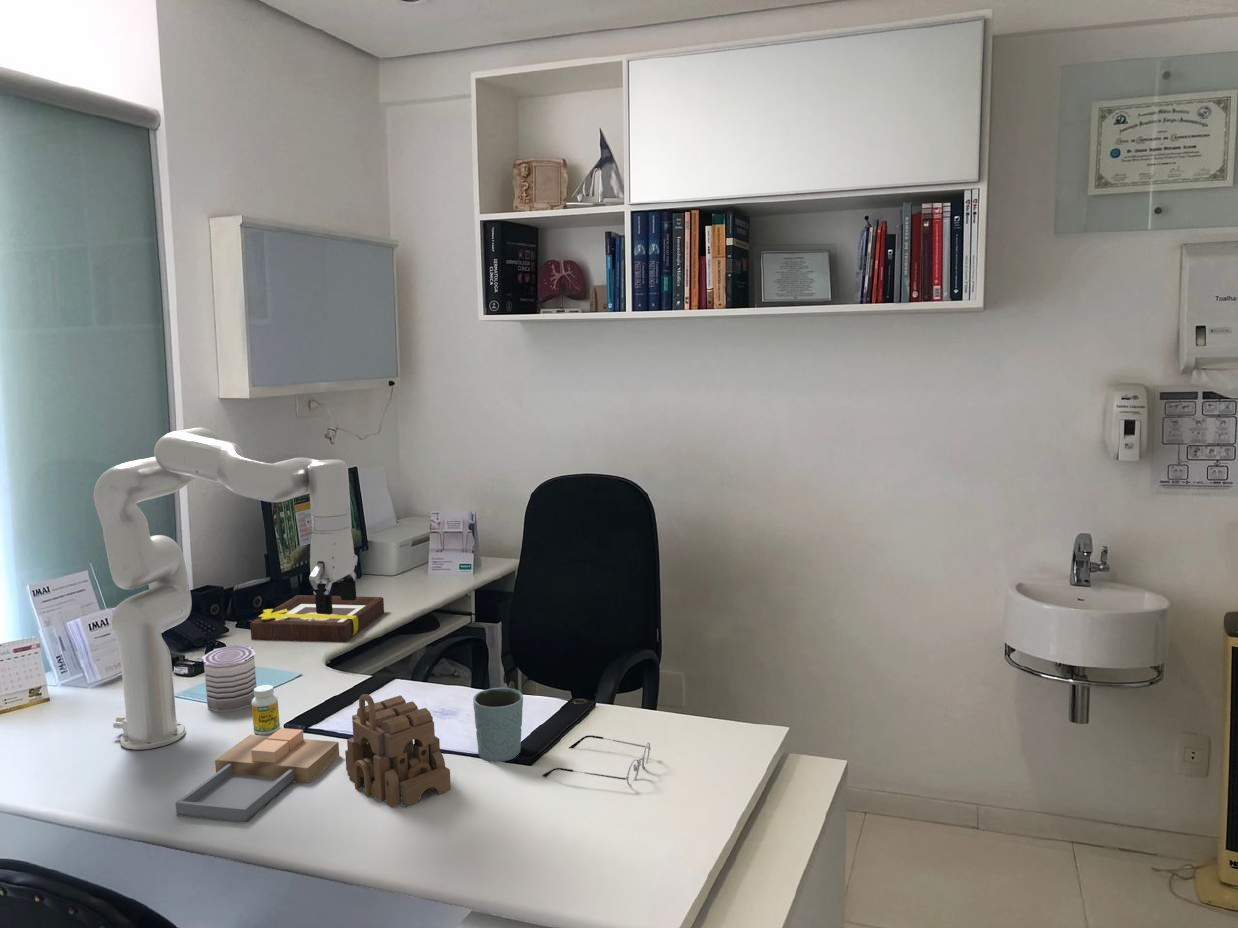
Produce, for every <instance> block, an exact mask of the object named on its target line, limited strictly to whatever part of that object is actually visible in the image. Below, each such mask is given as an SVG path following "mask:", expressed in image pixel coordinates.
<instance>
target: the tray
mask: <svg viewBox="0 0 1238 928" xmlns="http://www.w3.org/2000/svg"><path fill="white" fill-rule="evenodd" d="M294 783H296V782H295V780H294V769H289V770H288V771H287V772H286V773H284V774H283V775H282V776H281V777H280V778H277V777H266V776H255V775H244V774H233V766H232V764H227V765H226V766H225V767H223V768H222V769H221V770H219V771H218V772H216V771H215V773H213V774H212V775H211V776H210V777H208V778H207V779H205V780H204V781H202V783H200V784H199V785H197V786H196V787H195V788H193V789H192V790H190V791H189V792H188V793H186V794H185V795H184V796H182V797H181V798H180V799H178V800H177V801H175V803H174V804H175V815H176V817H185V818H195V819H206V820H214V821H222V822H223V821H226V822H235V823H244V824H246V823H248V822H249V821H251V819H253V818H254V817H255V816H256V815H257V814H259V812H261V811H262V810H264V809H265V808H266V807H267V806H268V805H269V804H270V803H272V802H273V800H275V799H276V798H277V797H278V796H279V795H281V794H282V793H283V792H284V791H286V789H287V788H289V787H290V786H291V785H292V784H294Z"/></svg>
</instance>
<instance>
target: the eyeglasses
mask: <svg viewBox="0 0 1238 928" xmlns="http://www.w3.org/2000/svg"><path fill="white" fill-rule="evenodd" d="M587 738H593V739H600V740H608V741H613V742H615V743H616V742H617V743H619V744H626V745H630V746H635V747H641V748H643V749H644V750H643V751H644V752H643V754H642V755H641V757H640V758H639V759H633V760H632V762H631V763H630V766H629V767H628V771H627V775H626V776H624V777H623V776H616V775H609V774H600V773H596V772H595V773H594V772H586V771H584V772H583V771H579V770H578V771H577V770H574V769H570V768H563V767H554V768H552V769H550V770H549V771H547V772H545V773H543V774H542V777H545V778H547V777H548V776H550V775H551V774H552V773H553V772H555V771H565V772H571V773H580V774H585V775H591V776H597V777H604V778H611V779H616V780H622V781H623V780H624V781H626V783H627V785H628V786H631V785H632V784H630V782H629V778H630V776H629V775H630V772H631V768H632V767H633V768H632V769H633V772H636V773H635V775H634V778H633V780H632V782H635V781H636V780H637V778H638V775H639V770H640V767H642V769H644V770H645V768H646V767H645V764H646V765H647V764H648V761H649V758H650V753H651V752H650V751H651V750H652V749H651V743H650V742H647V743H646V744H645V745H644V744H639V743H633V742H628V741H622V740H617V739H609V738H606V737H604V736H599V735H585V736H583V737H581V738H580V739H578V740H577V741H576V742H574V743H573V744H571V745H570V746H569V747H568V749H575V747H577V746H578V745H579V744H580V743H581V742H582V741H584V740H585V739H587ZM647 750H648V752H647V756H646V751H647ZM645 756H646V758H645ZM645 759H646V761H645ZM635 762H636V763H637V764H634V763H635Z"/></svg>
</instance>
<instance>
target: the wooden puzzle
mask: <svg viewBox="0 0 1238 928" xmlns="http://www.w3.org/2000/svg"><path fill="white" fill-rule="evenodd" d="M366 703H367V705H366ZM351 720H352V735H353V737H350V738H348V739H347V740H346V742H347V745H346V746H347V749H346V750H344V753H345V754H344V755H345V769H346V771H347V776H348V778H349V781H350V782H352V783H353V784H354V789H355V790H357V791H359V790H361V789H362V787H364V795H365V797H367V798H368V797H371V796H372V797H374V798H375V799H376V800H378V801H380V802H381V803H382V802H384V801H385V804H386V805H387V806H389V807H391V808H394V807H396V806H399V805H400V804H401V805H402V806H404V807H405V808H409V807H411V806H415V805H417V804H419V803H420V800H421V797H422V795H423V793H424V792H425V791H426V792H428V793H430V792H432V791H433V792H434V793H436V794H437V795H442V794H444V793H448V792H449V791H451V790H452V787H451V786H452V785H451V769H450V768H448V767H447V766H446V763H445V759H444V756H443V754H442V752H441V747H440V744H441V743H440V742H441V741H440V738H439V737H437V736H436V735H435V722H434V721H433V720H434V717H433V716H432V713H431V711H429V709H428V708H427V707H424V708H418V706H417V704H416V703H415V702H414V701H408V702H406V699H405V698H404V696H402V695H398V696H393V697H390V698H386V699H384V700H381V701H378V702H375V701H374V699H373V697H372V696H371V695H369V694H368V693H366V694H365V693H364V694H361V695H360V696H359V699H358V708H357V711H356V714H353V715H351Z"/></svg>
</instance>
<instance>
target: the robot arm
mask: <svg viewBox="0 0 1238 928" xmlns="http://www.w3.org/2000/svg"><path fill="white" fill-rule="evenodd" d="M196 479H199V480H200V479H201V480H205V481H209V482H212V483H218V484H221V485H223V486H224V487H225V488H226V489H228V490H229V491H231V493H234V494H236V495H238V496H241V497H245V498H250V499H253V500H257V501H263V502H267V503H282V502H286V501H288V500H292V499H294V498H298V497H302V496H305V495H308V494H309V502H310V517H311V518H310V519H311V531H312V533H311V536H310V545H309V546H310V547H309V549H310V550H309V569H310V575H309V577H308V579H309V582H310V585H311V589H312V590H313V596H315V599H316V613H317V614H332V613H333V610H332V596H333V595H332V593H330V592H331V588H332V585H333V583H335V582H339V589H340V592H339V593H340V596H341V599H342V600H356V596H357V587H356V585H357V584H356V580H357V574H356V573H357V570H358V567H357V564H358V555H356V554H355V548H354V540H353V535H352V527H353V526H352V515H351V514H352V512H351V496H350V481H349V467H348V465H347V463H346V462H345V461H344V460H341V459H332V458H331V459H320V460H319V459H316V458H315V459H314V458H310V457H293V458H291V459H286V460H282V461H278V462H274V463H268V462H262V461H257V460H253V459H250V458H246V457H244V453H243V450H242V448H241V446H240V445H239V444H237V443H235V442H232V441H227V440H222V439H221V438H220V437H219V436H218V434H217V433H215V432H214V431H212V430H210V429H209V428H205V427H192V428H187V429H180V430H175V431H171V432H168V433H166V434H164V435H162V436H161V437H160V438H159V439H158V440H157V442H156V443H155V445H154V449H153V456H151V457H147V458H142V459H141V458H140V459H136V460H135V459H134V460H130V461H126V462H123V463H120V464H117V465H115V466H112V467H110V468H108V469H107V470H105V471H104V472H103V473H102V474H101V475H100V476H99V478H98V479H97V481H96V482H95V486H94V489H93V501H94V505H95V509H96V513H97V515H98V518H99V521H100V523H101V524H100V525H101V528H102V532H103V533H102V534H103V540H104V544H105V545H104V547H105V552H106V554H107V563H108V566H109V571H110V575H111V578H112V581H113V583H114V584H115V585H116V587H118V588H120V589H123V590H135V589H139V588H142V587H145V586H147V585H148V589H147V590H143V591H141V592H138V593H136V594H134V595H130V596H129V597H127V598H124V600H123V601H120V602H119V603H118V604H117V606H115V608H114V610H113V611H112V612H113V613H112V615H111V626H112V630H113V634H114V636H115V640H116V642H117V647H118V653H119V657H120V658H119V659H120V667H121V677H122V686H123V695H124V696H123V698H124V706H125V707H124V708H125V715H122V714H121V715H120V714H119V715H117V716H116V718H115V721H114V722H113V725H112V727H113V729H120V730H121V729H122V731H123V733H122V734H121V736H119V737H120V738H119V742H120V746H122V747H123V748H125V749H129V750H138V751H139V750H149V749H150V750H151V749H156V748H161V747H164V746H167V745H169V744H173V743H174V742H176V741H178V740H180V739H181V738H183V736H184V735H185V734H186V727H185V724H183V723H182V722H178V721H177V712H176V710H177V709H176V700H175V690H174V689H175V687H174V686H175V685H174V676H173V665H172V657H171V652H170V648H169V646H168V644H167V643H166V641H165V640H164V639H163V635H162V633H164V632H165V631H167V630H169V629H172V628H173V627H176V626H178V625H180V624H182V623H183V622H184V621H186V620H187V619H188V617H190V614H191V611H192V601H193V600H192V594H191V590H190V589H191V588H190V582H189V578H188V571H187V566H186V565H187V564H186V561H185V560H186V559H185V556H184V553H183V551H182V549H181V547H180V546H179V544H178V543H177V542H176V541H175V540H174V539H173V538H172V537H170V536H168V535H167V536H166V535H163V534H162V535H161V534H158V535H157V534H156V535H152V536H151V534H150V529H149V523H148V520H147V517H146V515H145V514H144V512H143V511H142V509H141V508H140V507H139V506H138V505H137V504H139V503H140V502H141V503H142V502H143V501H144V502H145V501H148V500H153V499H156V498H160V497H164V496H168V495H171V494H174V493H176V492H178V491H179V490H181V489H183V488H184V487H186V486H187V485H189V484H190V483H192V482H193V481H194V480H196ZM323 584H325V586H324V585H323Z"/></svg>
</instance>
